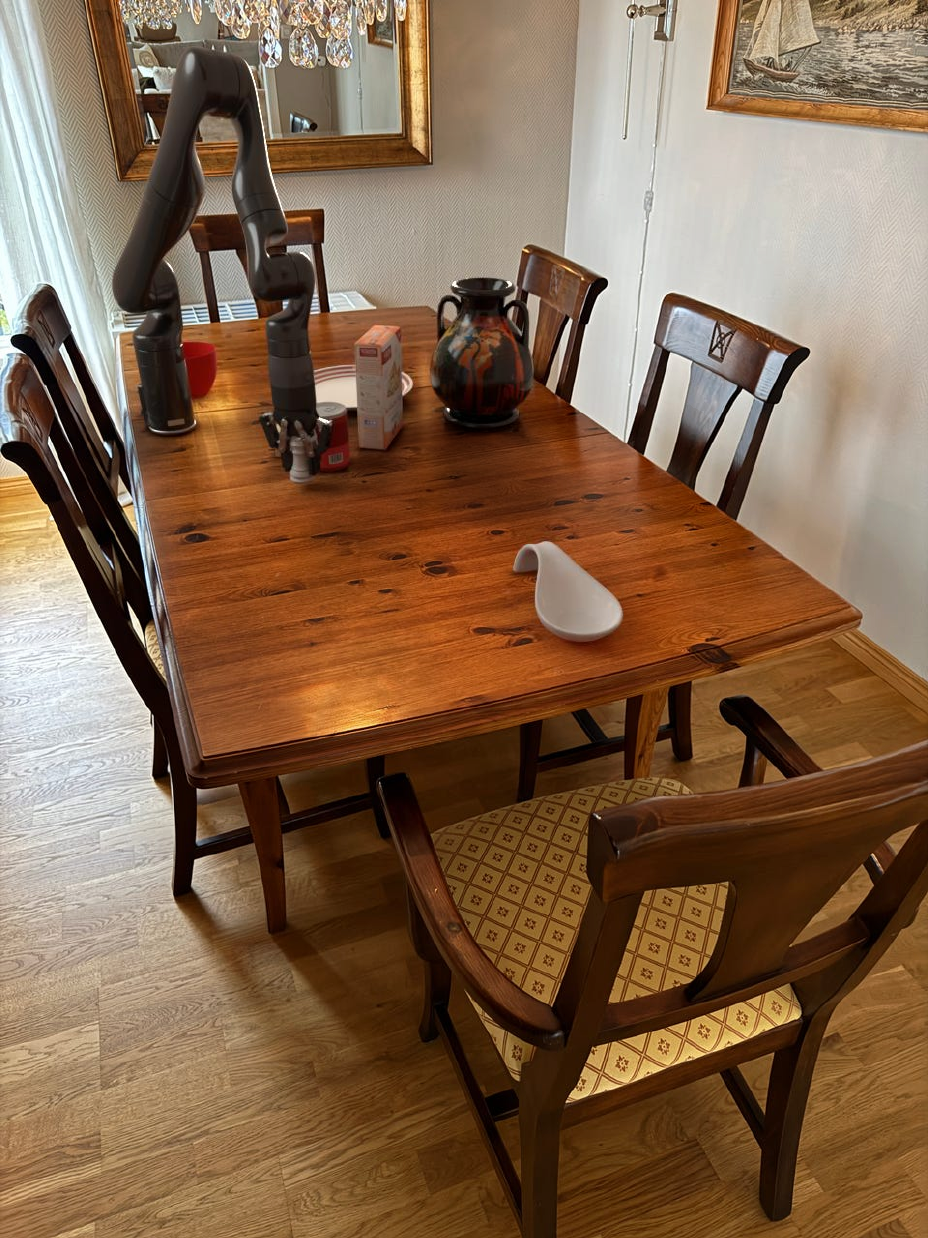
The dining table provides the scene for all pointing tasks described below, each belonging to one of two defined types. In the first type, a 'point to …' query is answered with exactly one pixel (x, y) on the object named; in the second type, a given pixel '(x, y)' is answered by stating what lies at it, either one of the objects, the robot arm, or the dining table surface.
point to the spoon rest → (568, 595)
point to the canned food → (334, 437)
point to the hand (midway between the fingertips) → (301, 471)
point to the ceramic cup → (200, 366)
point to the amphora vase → (482, 357)
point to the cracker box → (379, 386)
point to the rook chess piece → (299, 462)
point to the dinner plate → (344, 385)
